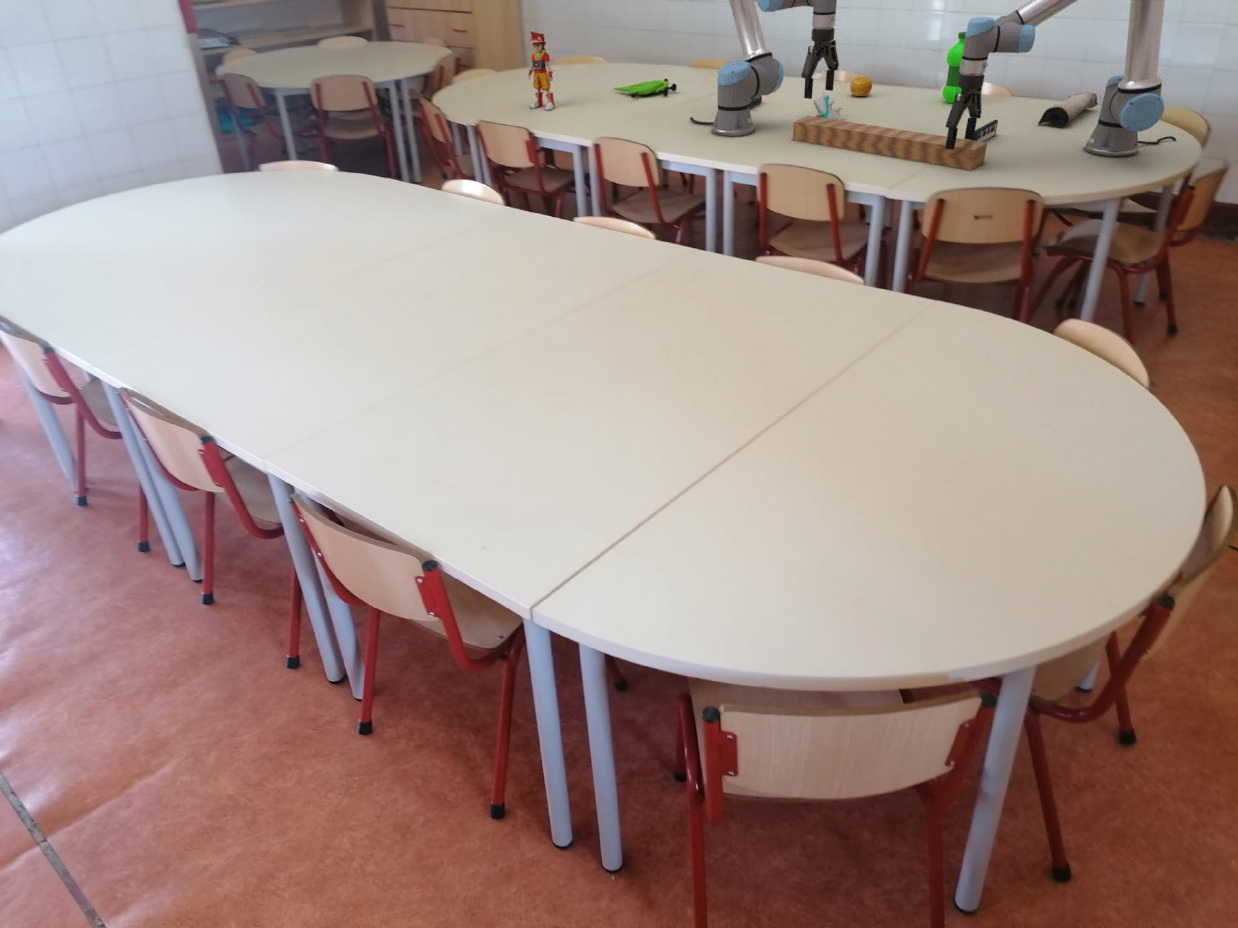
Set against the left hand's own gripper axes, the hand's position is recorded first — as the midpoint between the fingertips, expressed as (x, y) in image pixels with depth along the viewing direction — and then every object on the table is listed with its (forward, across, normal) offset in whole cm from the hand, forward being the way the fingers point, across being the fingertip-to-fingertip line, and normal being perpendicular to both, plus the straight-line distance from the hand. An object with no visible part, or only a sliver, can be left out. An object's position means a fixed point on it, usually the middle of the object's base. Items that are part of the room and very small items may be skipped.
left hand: (818, 94), depth 313 cm
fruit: (+15, +64, +19) cm, 69 cm away
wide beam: (+15, 0, -27) cm, 31 cm away
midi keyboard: (+15, +28, -50) cm, 59 cm away
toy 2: (+15, +24, +105) cm, 109 cm away
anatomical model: (+15, +26, +11) cm, 32 cm away
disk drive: (+15, +26, +51) cm, 59 cm away
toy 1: (+15, -18, +124) cm, 126 cm away
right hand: (+9, 0, -53) cm, 54 cm away
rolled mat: (+15, +72, -62) cm, 96 cm away
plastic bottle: (+15, +73, -18) cm, 77 cm away
